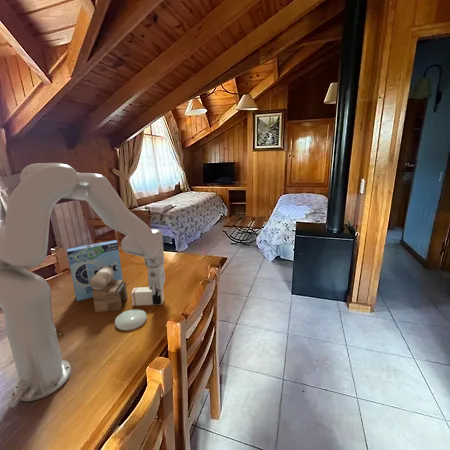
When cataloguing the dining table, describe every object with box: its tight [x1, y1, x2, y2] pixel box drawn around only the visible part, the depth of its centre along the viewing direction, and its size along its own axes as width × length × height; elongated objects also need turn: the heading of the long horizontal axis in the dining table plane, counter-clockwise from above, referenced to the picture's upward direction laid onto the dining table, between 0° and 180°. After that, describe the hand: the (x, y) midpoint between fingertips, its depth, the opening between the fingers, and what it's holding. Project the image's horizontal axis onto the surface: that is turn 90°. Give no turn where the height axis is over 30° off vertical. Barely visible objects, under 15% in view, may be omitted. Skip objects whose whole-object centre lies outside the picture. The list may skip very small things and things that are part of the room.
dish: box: [114, 308, 147, 331], centre depth 94 cm, size 11×11×1 cm
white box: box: [131, 286, 165, 307], centre depth 105 cm, size 4×12×6 cm, turn 94°
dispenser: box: [90, 266, 129, 312], centre depth 103 cm, size 10×10×15 cm
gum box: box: [66, 239, 124, 302], centre depth 111 cm, size 20×5×23 cm, turn 123°
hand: (158, 300), depth 106 cm, fingers closed on white box, 4 cm apart
